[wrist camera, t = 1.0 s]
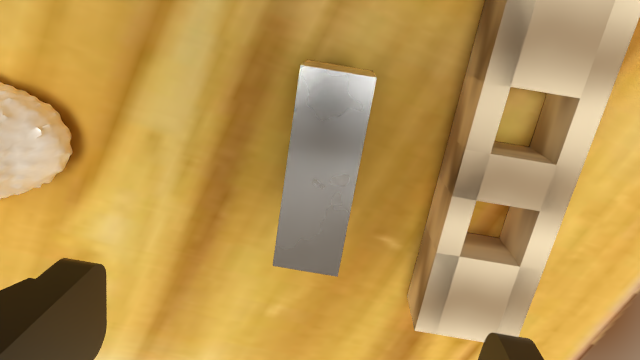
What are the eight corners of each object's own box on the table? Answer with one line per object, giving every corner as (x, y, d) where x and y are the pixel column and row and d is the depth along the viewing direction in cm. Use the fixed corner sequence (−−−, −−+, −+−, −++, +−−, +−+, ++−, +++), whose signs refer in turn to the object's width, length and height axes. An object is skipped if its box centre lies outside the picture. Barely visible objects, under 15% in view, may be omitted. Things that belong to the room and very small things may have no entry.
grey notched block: (314, 53, 24) (300, 64, 17) (367, 62, 24) (376, 77, 17) (292, 200, 27) (272, 265, 20) (340, 208, 27) (337, 276, 20)
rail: (492, -29, 23) (517, -39, 19) (607, -10, 23) (651, -16, 19) (406, 296, 29) (414, 330, 26) (495, 311, 29) (514, 347, 26)
